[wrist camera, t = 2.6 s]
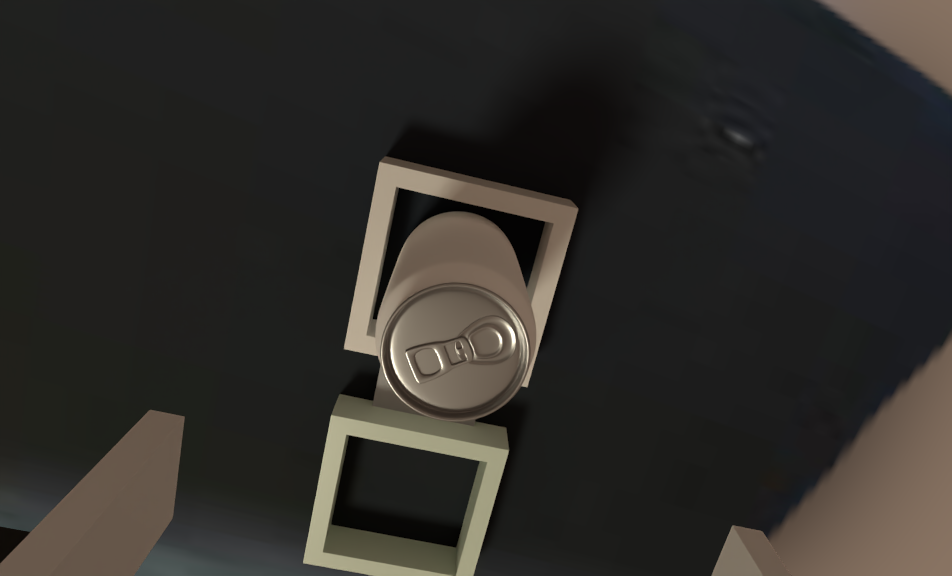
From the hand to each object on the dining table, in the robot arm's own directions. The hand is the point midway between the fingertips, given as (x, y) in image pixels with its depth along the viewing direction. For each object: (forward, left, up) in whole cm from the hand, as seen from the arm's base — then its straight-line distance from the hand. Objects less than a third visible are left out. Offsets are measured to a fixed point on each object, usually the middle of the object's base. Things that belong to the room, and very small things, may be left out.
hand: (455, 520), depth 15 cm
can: (0, 0, -22) cm, 22 cm away
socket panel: (+7, 0, -21) cm, 22 cm away
